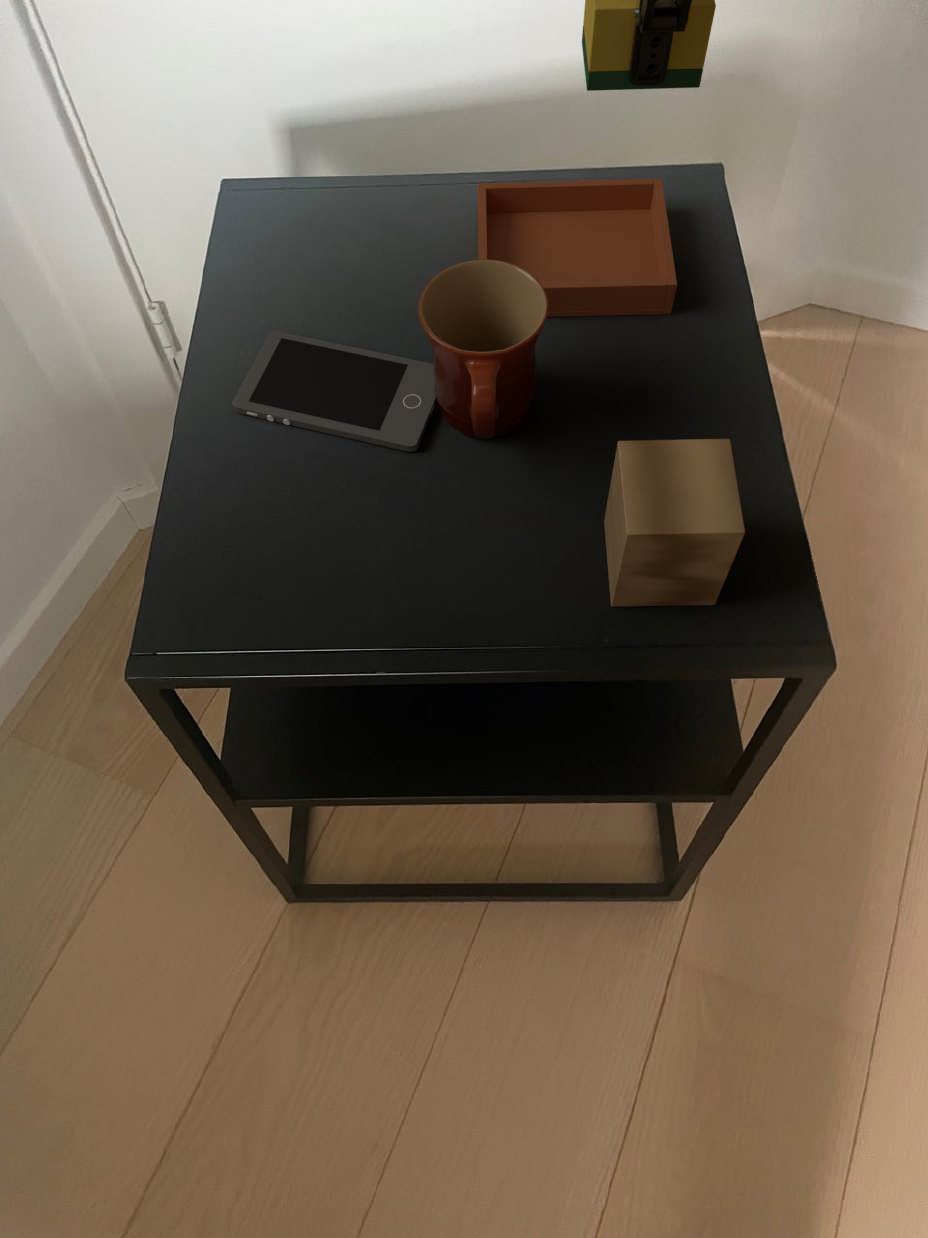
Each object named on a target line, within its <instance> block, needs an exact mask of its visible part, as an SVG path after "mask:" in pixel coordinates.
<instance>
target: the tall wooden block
mask: <svg viewBox="0 0 928 1238" xmlns="http://www.w3.org/2000/svg"><path fill="white" fill-rule="evenodd" d="M616 444H617V445H616V449H615V455H614V462H613V466H612V467H613V468H612V472H611V480H610V484H609V491H608V495H607V501H606V502H607V503H606V507H605V514H604V520H603V525H604V537H605V550H606V551H605V552H606V561H607V572H608V586H609V598H610V606H611V607H612V608H613V607H614V608H615V607H668V606H669V607H670V606H671V607H672V606H674V607H675V606H715V605H716V604H717V601H718V598H719V597H720V594H721V591H722V589H723V587H724V585H725V582H726V580H727V577H728V575H729V573H730V570H731V567H732V564H733V562H734V560H735V558H736V555H737V553H738V551H739V549H740V546H741V543H742V541H743V539H744V536H745V533H746V529H745V523H744V517H743V510H742V504H741V497H740V492H739V486H738V479H737V474H736V468H735V467H736V466H735V462H734V454H733V449H732V441H731V439H730V438H702V439H701V438H695V439H694V438H693V439H692V438H691V439H649V440H648V439H647V440H644V439H643V440H618V441H617V443H616Z"/></svg>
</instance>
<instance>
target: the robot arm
mask: <svg viewBox="0 0 928 1238" xmlns="http://www.w3.org/2000/svg"><path fill="white" fill-rule="evenodd" d="M691 3H692V0H637V1H636V8H634V18H635V29H634V37H633V44H632V52H631V59H630V67H629V77H630V82H631V83H632V84H633V85H658V84H661V83H662V82H664V80H665V79H666V74H667V69H668V63H669V57H670V51H671V45H672V39H673V33H674V32H684V31H685V28H686V24H688V18H689V12H690V7H691Z"/></svg>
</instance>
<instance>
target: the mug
mask: <svg viewBox="0 0 928 1238" xmlns="http://www.w3.org/2000/svg"><path fill="white" fill-rule="evenodd" d="M417 305H418V309H417V311H418V318H419V321H420V325H421V326H422V328H423V330H424V332H425V334H426V336H427V337H428V340H429V342H430V345H431V348H432V353H433V354H432V357H433V360H432V361H433V362H432V364H433V365H434V381H435V383H434V390H435V395H436V398H437V403H438V406H439V409H440V412H441V415H442V416H443V418H444V419H445V421H446V422H447V423H448V425H450V426H451V427H452V428H454V430H456V431H458V432H459V433H462V434H463V435H465V436H469V437H473V438H476V439H480V440H489V439H493V438H495V437H500V436H501V437H502V436H504V435H506V434H508V433H509V432H512V431H513V430H514V429H516V428H517V427H519V426H520V425H521V424H522V423H523V422H524V420H525V419H526V418H527V416H528V414H529V412H530V409H531V406H532V404H533V400H534V397H535V393H536V385H537V383H536V367H537V366H536V365H537V364H536V346H537V341H538V339H539V338H540V335H541V332H542V331H543V328H544V326H545V324H546V323H547V319H548V317H547V316H548V310H549V304H548V298H547V294H546V292H545V290H544V288H543V286H542V285H541V283H540V282H539V281H538V280H537V279H536V278H535V277H534V276H533V275H532V274H531V273H529V272H528V271H526V270H525V269H523V268H521V267H519V266H517V265H514V264H511V263H508V262H504V261H499V260H491V259H479V258H478V259H472V260H465V261H462V262H458V263H456V264H453V265H451V266H448V267H446V268H445V269H442V270H441V271H440V272H438V273H436V275H435V276H433V277H432V278H431V279H430V280H429V281H428V282H427V284H426V285H425V286H424V288H423V290H422V292H421V294H420V296H419V300H418V304H417Z"/></svg>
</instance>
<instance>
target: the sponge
mask: <svg viewBox="0 0 928 1238" xmlns="http://www.w3.org/2000/svg"><path fill="white" fill-rule="evenodd" d="M636 1H637V0H584V11H583V23H582V24H583V25H582V32H581V34H582V35H581V48H582V57H583V66H584V76H585V85H586V86H585V88H586V91H588V92H592V91H621V90H622V91H627V90H628V91H629V90H632V91H633V90H661V89H694V88H695V89H697V88H700V87H701V82H702V77H703V72H704V66H705V61H706V56H707V52H708V46H709V42H710V37H711V32H712V27H713V22H714V18H715V12H716V6H717V5H716V0H692V3H691V7H690V12H689V18H688V24H686V28H685V31H684V32H674V33H673V39H672V45H671V51H670V57H669V63H668V69H667V74H666V79H665V80H664V82H662V83H661V84H658V85H633V84H632V83H631V82H630V77H629V67H630V59H631V52H632V44H633V37H634V29H635V18H634V8H636Z"/></svg>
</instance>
